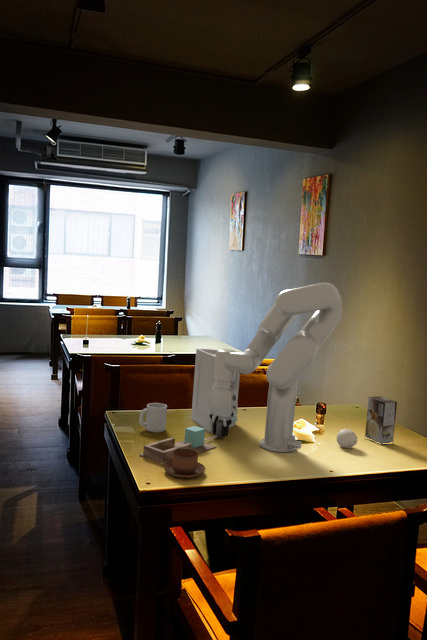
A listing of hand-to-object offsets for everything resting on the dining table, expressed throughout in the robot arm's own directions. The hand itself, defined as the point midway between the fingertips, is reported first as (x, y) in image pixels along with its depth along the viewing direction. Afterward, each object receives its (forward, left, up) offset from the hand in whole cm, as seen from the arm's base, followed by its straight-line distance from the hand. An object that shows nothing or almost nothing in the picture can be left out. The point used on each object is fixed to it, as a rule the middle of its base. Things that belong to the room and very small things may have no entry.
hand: (220, 434), depth 193 cm
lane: (0, +22, -1) cm, 22 cm away
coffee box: (-41, -45, -1) cm, 61 cm away
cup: (+22, +12, -1) cm, 25 cm away
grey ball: (-36, -27, -1) cm, 45 cm away
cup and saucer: (-13, +35, -2) cm, 37 cm away
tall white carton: (+11, -13, -1) cm, 17 cm away
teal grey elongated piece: (0, +8, -1) cm, 8 cm away
